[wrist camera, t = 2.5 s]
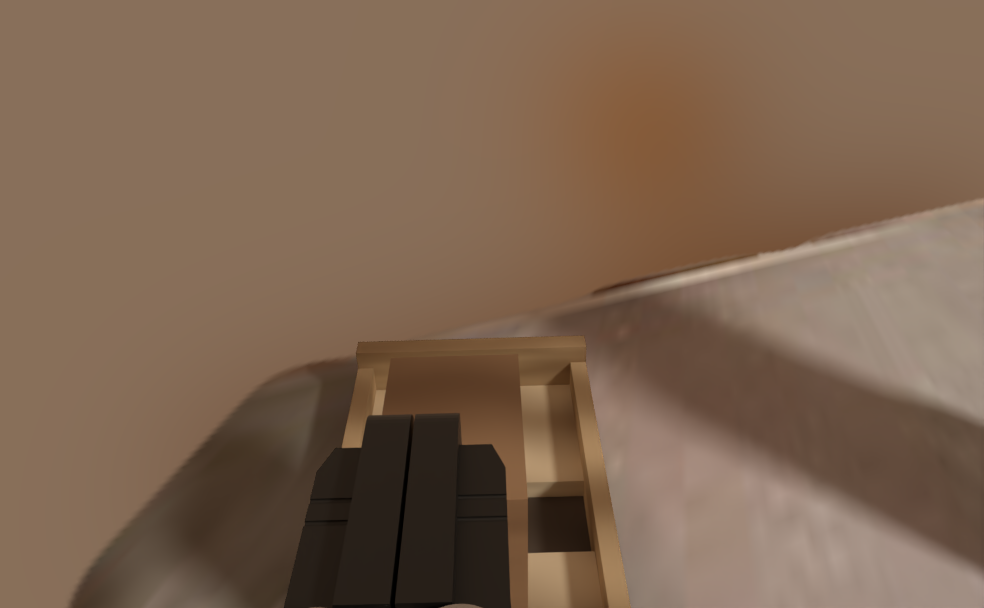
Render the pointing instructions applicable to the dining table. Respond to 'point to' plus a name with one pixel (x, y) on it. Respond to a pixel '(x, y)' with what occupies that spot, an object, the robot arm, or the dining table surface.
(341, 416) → the dining table surface
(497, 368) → the walnut block
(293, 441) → the dining table surface
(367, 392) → the tray
